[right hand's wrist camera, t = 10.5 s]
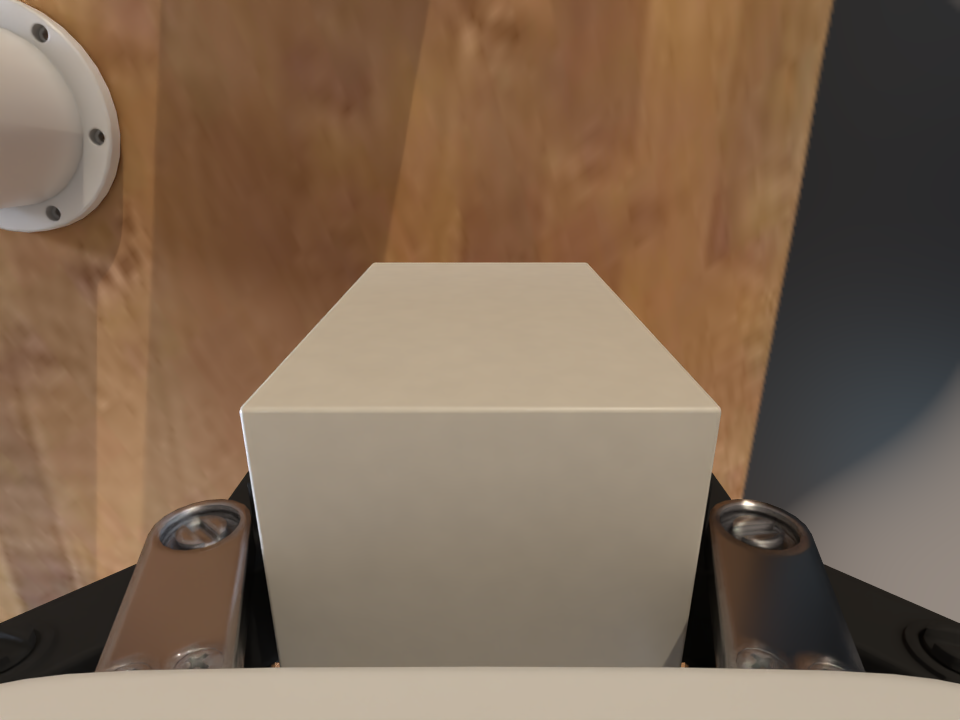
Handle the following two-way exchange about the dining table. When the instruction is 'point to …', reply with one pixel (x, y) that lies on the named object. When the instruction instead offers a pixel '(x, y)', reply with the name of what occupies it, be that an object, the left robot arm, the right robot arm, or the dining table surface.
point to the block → (480, 475)
